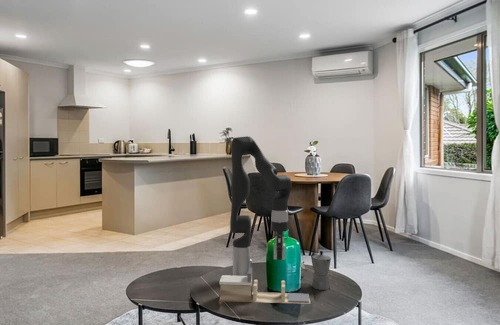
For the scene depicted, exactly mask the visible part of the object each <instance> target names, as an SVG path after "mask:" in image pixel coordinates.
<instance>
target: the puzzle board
mask: <svg viewBox="0 0 500 325" xmlns="http://www.w3.org/2000/svg"><path fill="white" fill-rule="evenodd" d="M258 282H259V281H258V279H254V280H253V281H252V282H251V285H223V284H220V297H219V299H218V305H223V303H224V302H235V303H237V302H238V303H239V302H240V303H241V302H243V303H267V304H269V303H270V304H271V303H272V304H274V303H275V304H276V303H277V304H301V305H311V299H310V294H309V293H307V294H308V298H309V302H288V293H289V292H286V281H285V280H281V289H280V292H266V291H265V292H262V291H258V286H259V285H258ZM299 294H304V293H303V292H302V293H299Z"/></svg>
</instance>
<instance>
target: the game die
mask: <svg viewBox="0 0 500 325" xmlns="http://www.w3.org/2000/svg"><path fill="white" fill-rule="evenodd" d="M304 263H305V261H303V262H301V276H300V277H303V278H304V276H303V275H304V274H305V272H307V271H308V269H306V266H305V264H304Z"/></svg>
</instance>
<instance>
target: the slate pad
mask: <svg viewBox="0 0 500 325" xmlns="http://www.w3.org/2000/svg"><path fill="white" fill-rule="evenodd" d="M287 293H288V302H309V299H310V297H309V298H308V294H309V293H303V294H299V293H297V292H287Z"/></svg>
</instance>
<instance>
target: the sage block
mask: <svg viewBox="0 0 500 325" xmlns="http://www.w3.org/2000/svg"><path fill="white" fill-rule="evenodd" d="M278 248H281V246H278ZM276 249H277V246H276V242H275V243H273V260H277V250H276ZM282 249H283V251H282V260H286V243H285V242H284V243H283V246H282ZM282 260H281V261H282Z"/></svg>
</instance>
